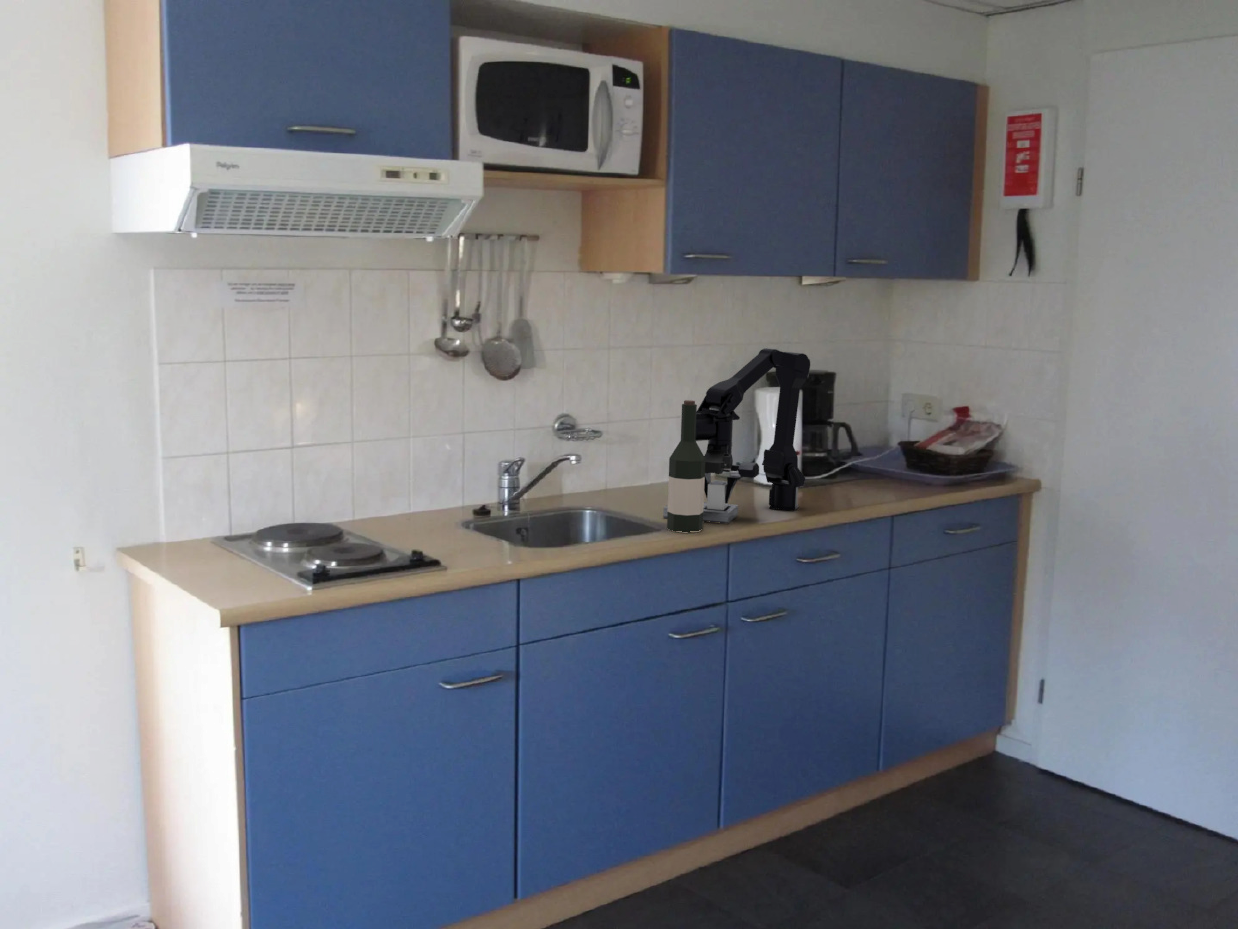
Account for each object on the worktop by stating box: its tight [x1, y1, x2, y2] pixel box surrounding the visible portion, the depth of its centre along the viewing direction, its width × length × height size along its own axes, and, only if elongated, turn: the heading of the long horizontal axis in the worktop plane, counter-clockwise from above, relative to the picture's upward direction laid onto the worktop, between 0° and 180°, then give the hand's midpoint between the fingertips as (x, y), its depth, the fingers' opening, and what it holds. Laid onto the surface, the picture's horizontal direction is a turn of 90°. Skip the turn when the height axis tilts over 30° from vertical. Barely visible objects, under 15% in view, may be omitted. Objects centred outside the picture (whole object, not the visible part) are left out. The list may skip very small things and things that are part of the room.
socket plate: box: [662, 501, 739, 524], centre depth 297 cm, size 16×11×3 cm
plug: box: [706, 479, 729, 510], centre depth 295 cm, size 4×5×6 cm
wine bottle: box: [666, 399, 705, 532], centre depth 280 cm, size 8×8×30 cm
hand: (717, 502), depth 296 cm, fingers closed on plug, 4 cm apart
